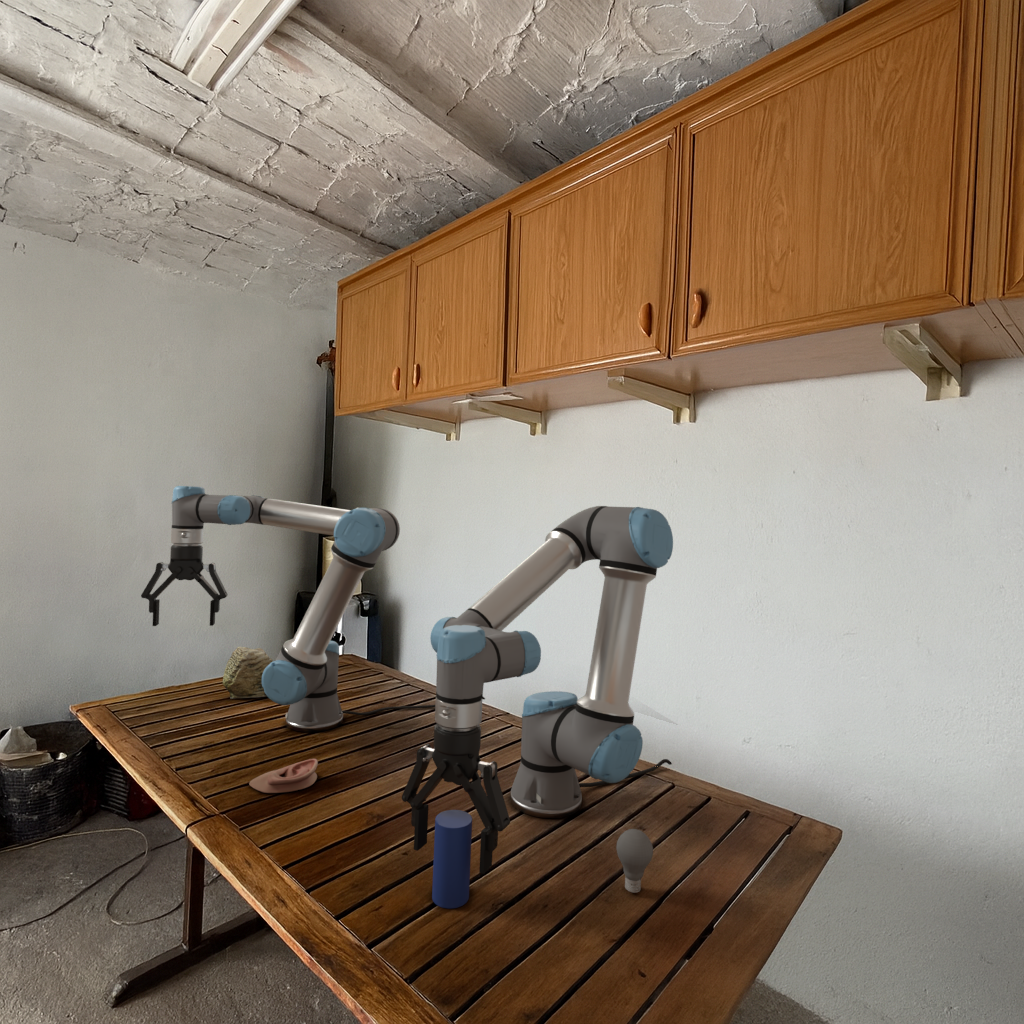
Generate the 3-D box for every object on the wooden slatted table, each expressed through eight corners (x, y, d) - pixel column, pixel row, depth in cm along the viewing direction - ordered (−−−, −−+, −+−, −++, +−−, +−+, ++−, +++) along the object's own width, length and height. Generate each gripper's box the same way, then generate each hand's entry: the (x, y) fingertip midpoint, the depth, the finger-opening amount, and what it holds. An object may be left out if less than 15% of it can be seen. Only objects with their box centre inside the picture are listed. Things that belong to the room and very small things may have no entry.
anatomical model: (241, 770, 135) (272, 750, 146) (240, 789, 135) (271, 767, 146) (297, 779, 132) (324, 757, 144) (297, 798, 132) (324, 775, 144)
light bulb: (610, 879, 108) (613, 822, 108) (644, 879, 109) (647, 822, 109) (619, 902, 102) (622, 840, 102) (655, 901, 103) (658, 840, 103)
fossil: (218, 695, 195) (220, 647, 195) (278, 685, 208) (279, 640, 207) (228, 703, 189) (230, 653, 188) (289, 692, 201) (290, 645, 201)
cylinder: (427, 905, 100) (430, 825, 99) (437, 883, 106) (441, 807, 105) (464, 911, 99) (467, 830, 99) (472, 888, 105) (475, 812, 104)
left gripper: (129, 544, 160) (126, 628, 160) (235, 546, 166) (232, 627, 167) (138, 542, 167) (136, 622, 167) (240, 544, 173) (237, 621, 174)
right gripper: (383, 715, 104) (377, 846, 104) (514, 747, 93) (507, 893, 93) (410, 703, 110) (405, 826, 111) (535, 731, 100) (529, 868, 100)
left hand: (184, 625), depth 167 cm, fingers open, 13 cm apart
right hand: (452, 857), depth 102 cm, fingers open, 12 cm apart
